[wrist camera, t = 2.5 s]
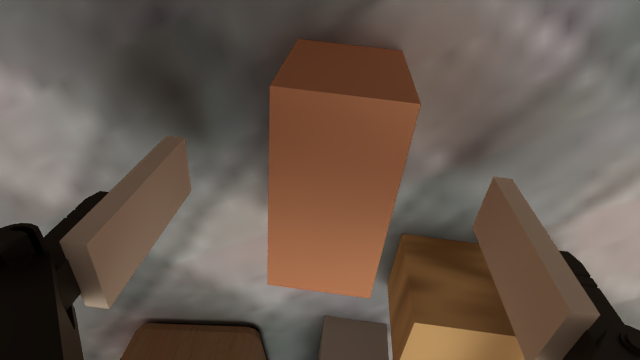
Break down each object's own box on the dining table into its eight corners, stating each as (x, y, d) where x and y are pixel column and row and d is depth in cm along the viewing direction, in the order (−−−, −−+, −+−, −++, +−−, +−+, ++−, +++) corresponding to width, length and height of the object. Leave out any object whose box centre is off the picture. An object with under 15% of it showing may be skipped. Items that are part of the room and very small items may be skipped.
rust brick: (298, 38, 16) (269, 85, 11) (401, 50, 16) (421, 104, 11) (289, 201, 21) (267, 284, 16) (367, 211, 21) (369, 298, 16)
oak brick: (387, 282, 24) (393, 373, 19) (402, 232, 21) (414, 322, 16) (524, 301, 24) (567, 398, 19) (556, 252, 21) (615, 350, 16)
